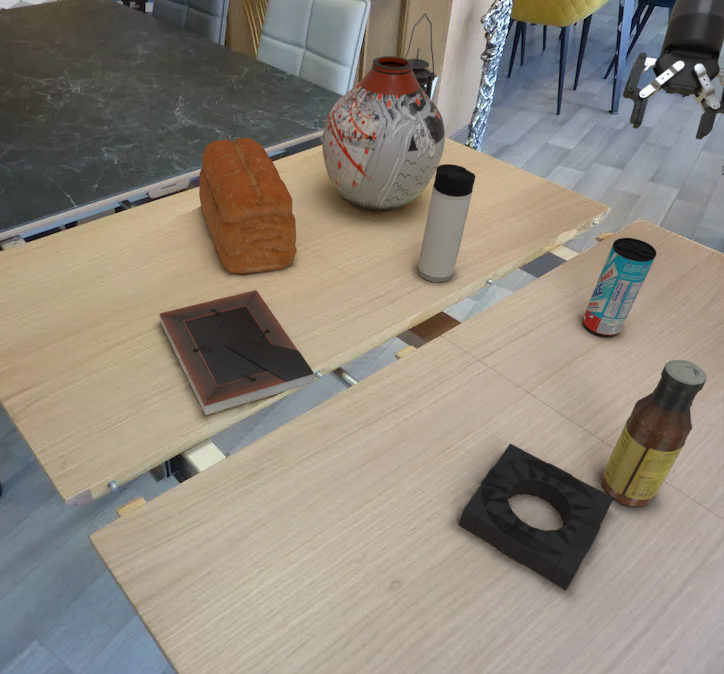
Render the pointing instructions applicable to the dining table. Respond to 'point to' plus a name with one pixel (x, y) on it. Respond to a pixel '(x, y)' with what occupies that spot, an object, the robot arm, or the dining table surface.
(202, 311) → the picture frame
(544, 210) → the dining table surface
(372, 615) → the dining table surface
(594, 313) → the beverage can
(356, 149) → the vase
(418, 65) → the lantern
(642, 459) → the sauce bottle
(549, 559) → the pad
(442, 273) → the travel mug
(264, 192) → the bread
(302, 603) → the dining table surface
